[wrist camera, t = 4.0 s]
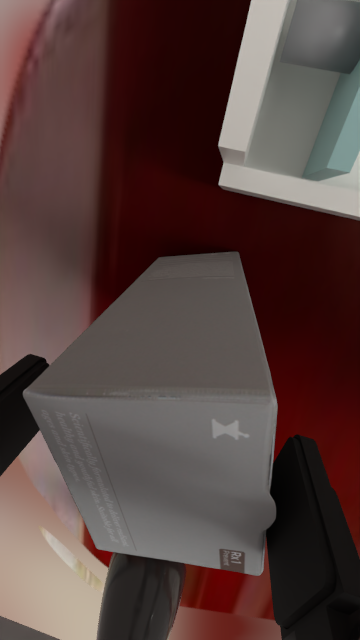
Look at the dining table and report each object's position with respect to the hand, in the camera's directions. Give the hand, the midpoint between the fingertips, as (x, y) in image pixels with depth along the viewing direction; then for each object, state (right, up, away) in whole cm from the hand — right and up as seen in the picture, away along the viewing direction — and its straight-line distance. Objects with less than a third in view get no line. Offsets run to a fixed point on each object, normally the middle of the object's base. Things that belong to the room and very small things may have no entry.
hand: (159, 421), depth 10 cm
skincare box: (+3, +5, +12) cm, 13 cm away
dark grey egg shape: (-3, -27, +28) cm, 39 cm away
